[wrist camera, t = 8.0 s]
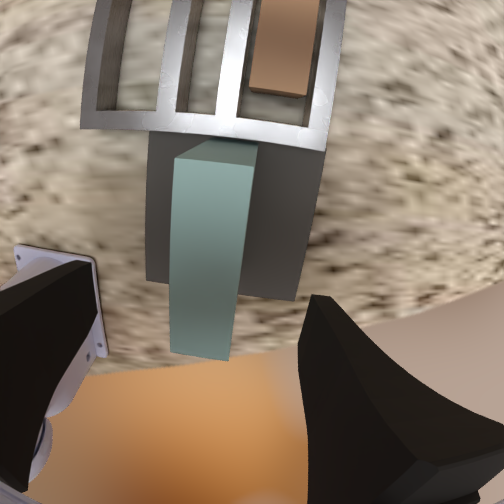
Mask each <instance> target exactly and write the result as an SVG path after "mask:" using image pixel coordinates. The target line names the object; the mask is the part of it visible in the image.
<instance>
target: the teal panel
mask: <svg viewBox="0 0 504 504" xmlns="http://www.w3.org/2000/svg"><path fill="white" fill-rule="evenodd" d="M257 150H258V143H257V142H250V141H242V140H234V139H225V138H216V137H213V138H211V139H209V140H207V141H205V142H203V143H201V144H199V145H198V146H196V147H194V148H192V149H190V150H188V151H186V152H185V153H183V154H181V155H179V156H177V157H176V158H175V161H174V174H173V189H172V207H171V230H170V270H169V316H170V352H173V353H178V354H184V355H190V356H196V357H202V358H209V359H215V360H222V361H229V353H230V346H231V339H232V331H233V324H234V317H235V310H236V302H237V295H238V288H239V281H240V274H241V266H242V259H243V251H244V244H245V237H246V229H247V222H248V215H249V207H250V200H251V193H252V186H253V178H254V171H255V164H256V157H257Z"/></svg>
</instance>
